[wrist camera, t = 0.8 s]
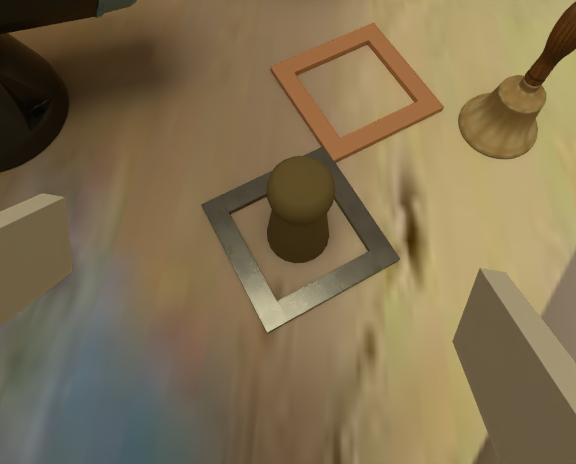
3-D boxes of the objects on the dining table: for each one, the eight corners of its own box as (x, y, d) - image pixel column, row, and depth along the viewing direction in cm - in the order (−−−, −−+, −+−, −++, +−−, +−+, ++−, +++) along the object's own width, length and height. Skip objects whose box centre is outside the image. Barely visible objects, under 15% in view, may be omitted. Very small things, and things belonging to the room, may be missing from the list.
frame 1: (270, 70, 46) (270, 66, 45) (372, 26, 48) (373, 22, 47) (333, 163, 41) (333, 160, 41) (442, 110, 44) (444, 106, 43)
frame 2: (202, 207, 39) (201, 204, 39) (323, 149, 42) (323, 146, 41) (267, 333, 35) (267, 332, 35) (398, 260, 37) (400, 258, 37)
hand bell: (446, 137, 42) (531, 4, 27) (475, 84, 45) (568, -64, 30) (520, 172, 41) (654, 52, 26) (546, 115, 43) (681, -24, 28)
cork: (282, 196, 40) (280, 131, 30) (338, 218, 39) (356, 159, 29) (256, 248, 38) (244, 198, 28) (314, 272, 37) (325, 231, 27)
